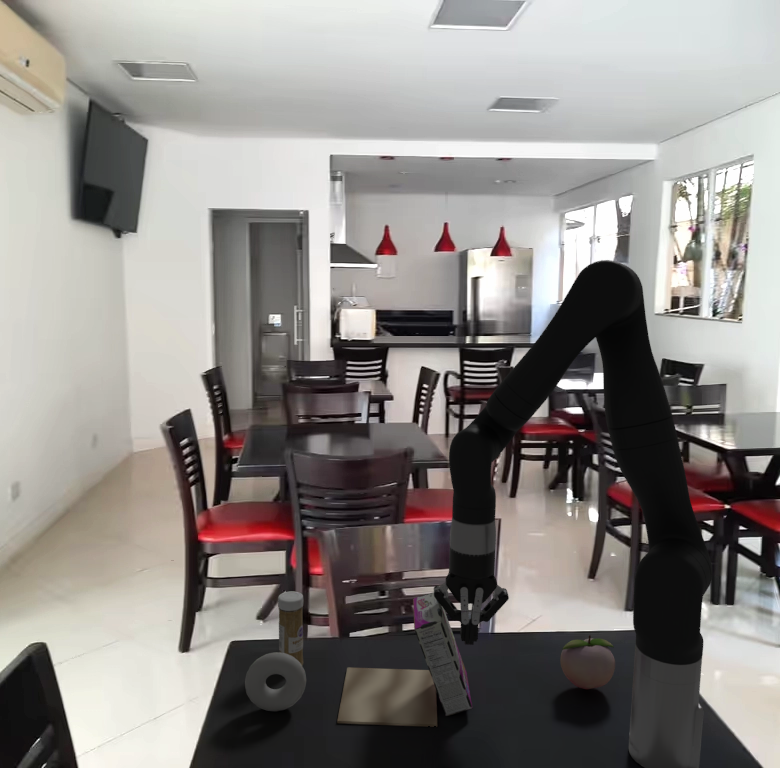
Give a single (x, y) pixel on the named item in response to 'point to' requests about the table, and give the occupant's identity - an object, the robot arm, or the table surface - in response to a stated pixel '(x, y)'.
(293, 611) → the sprinkles bottle
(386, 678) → the oak mat
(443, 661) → the candy bar box
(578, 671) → the decorative fruit
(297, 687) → the donut
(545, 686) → the table surface
